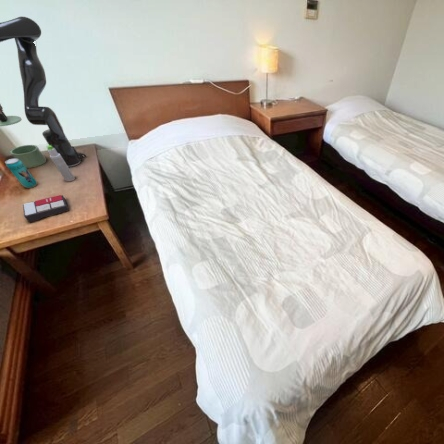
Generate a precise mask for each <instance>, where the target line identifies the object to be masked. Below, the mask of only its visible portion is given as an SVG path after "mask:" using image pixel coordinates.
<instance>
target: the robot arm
mask: <svg viewBox="0 0 444 444" xmlns="http://www.w3.org/2000/svg"><path fill="white" fill-rule="evenodd" d="M41 35H42V29H41V27H40V25H39V24H38V23H37V22H36V21H35V20H33V19H32V18H29V17H27V16H18V17H15V18H13V19H9V20H6V21H2V22H0V43H2V42H5V41H9V40H12V39H14V41H15V46H16V49H17V60H18V65H19V66H18V67H19V74H20V79H21V84H22V90H23V105H24V107H23V109H24V115H25V118H26V120H27V121H28V123H30V124H31V125H34V126H47V127H48V129H45V130H43V132H42V137H43V138H44V140H45V141H46V143H47V144H48V146H49V145H51V146H52V147H53V148H55V150H56V151H57V153H59V154H60V155H61V157H62V158H63V160H64V161H65V163H66V164H67V166H68V168H73V167H75V166H78V165H80V164H81V162H82V159H83V158H85V157H87V155H86V154H85V153H82V152H78V151H77V150H76V148H75V146H73V145H72V144H71V143H70V141H69V139H68V137H67V135H66V133H65V132H64V128H63V126H62V125H61V122H60V120H59V118H58V116H57V114H56V112H55V111H54V110H53V108H51V107H49V106H39V101H40V100H39V99H40V97H41V95H42V93H43V92H44V90H45V88H46V86H47V78H46V71H45V68H44V65H43V64H42V61H41V60H40V58H39V55H38V52H37V51H38V49H37V45H36V46H35V44H34V43H33V42H34V41H36V40H37V41H38V40H39V38H40V37H41ZM37 41H36V42H37ZM1 104H2V103H0V110H1V111H2V112H1V111H0V121H1V122H5V121H7V120H6V118H7V117H6V116H7V115H6V114H5V112H4V109H3V108H4V107H3V106H2V105H1ZM2 113H3V114H4V115H5V117H6V118H5V117H4V116H3V114H2ZM7 119H8V118H7Z"/></svg>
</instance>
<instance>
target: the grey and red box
mask: <svg viewBox="0 0 444 444" xmlns="http://www.w3.org/2000/svg"><path fill="white" fill-rule="evenodd" d="M22 210H23V217H24V218H25V219H26V220H27V222H28V223H32V222H36V221H39V220H41V219H43V218H46V217H50V216H55V215H58V214H62V213H66V212H69V211H70V209H69V205H68V203H67V199H66V198H65V196H64V195H63V194H58V195H55V196H50V197H46V198H41V199H38V200H34V201H31V202H26V203H23V204H22Z"/></svg>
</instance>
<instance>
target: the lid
mask: <svg viewBox="0 0 444 444" xmlns="http://www.w3.org/2000/svg"><path fill="white" fill-rule="evenodd" d="M0 111H1V110H0ZM1 112H3V111H1ZM2 114H3V113H2ZM4 114H5V113H4ZM4 114H3V116H4V117H5V115H6V114H5V115H4ZM6 117H7V118H8V119H7V118H6ZM6 117H5V118H6V120H7V121H5V122H1V121H0V127H6V126H12V125H15V124H18V123H20V122H22V117H21V116H19V115H6Z"/></svg>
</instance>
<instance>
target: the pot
mask: <svg viewBox="0 0 444 444" xmlns="http://www.w3.org/2000/svg"><path fill="white" fill-rule="evenodd" d="M9 152H10V153H9V154H11V156H12V157H13V158H17V159H19V160H20V161H21V162H22V163H23V164H24V166H25V167H26V168H27V169H28V168H29V169H30V168H36V167H40V166H42V165H44V164H45V163H46V162H47V158H46V157H45V155H44V153H43V152H42V150H41V149H40V148H39V146H38V145H37V144H25V145H24V144H23V145H19V146H17V147H14V148H13V149H11V150H10V151H9Z"/></svg>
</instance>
